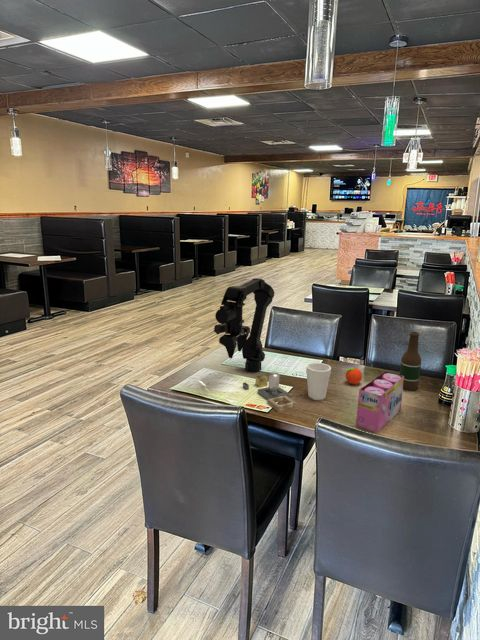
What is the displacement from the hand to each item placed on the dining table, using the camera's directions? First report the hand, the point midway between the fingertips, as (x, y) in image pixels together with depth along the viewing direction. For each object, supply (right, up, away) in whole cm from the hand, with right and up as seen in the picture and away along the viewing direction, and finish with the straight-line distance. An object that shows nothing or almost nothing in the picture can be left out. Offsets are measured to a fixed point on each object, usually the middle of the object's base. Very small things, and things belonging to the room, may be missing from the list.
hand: (235, 354), depth 178 cm
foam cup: (+32, -17, -9) cm, 37 cm away
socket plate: (+12, -15, -6) cm, 20 cm away
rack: (+17, -18, -17) cm, 31 cm away
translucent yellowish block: (+11, -12, 0) cm, 17 cm away
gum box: (+52, -21, -24) cm, 61 cm away
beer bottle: (+72, -14, +3) cm, 74 cm away
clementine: (+50, -13, +6) cm, 52 cm away
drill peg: (+15, -15, -9) cm, 23 cm away
